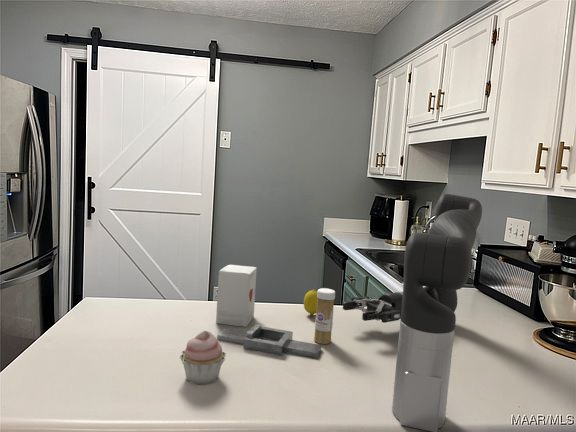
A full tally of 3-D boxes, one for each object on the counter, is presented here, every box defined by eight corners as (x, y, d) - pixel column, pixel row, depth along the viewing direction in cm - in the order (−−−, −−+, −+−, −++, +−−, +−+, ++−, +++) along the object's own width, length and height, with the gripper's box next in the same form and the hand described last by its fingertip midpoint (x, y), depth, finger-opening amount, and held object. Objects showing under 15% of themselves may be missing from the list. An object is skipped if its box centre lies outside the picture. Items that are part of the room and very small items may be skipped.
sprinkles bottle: (311, 342, 105) (315, 290, 104) (316, 336, 110) (320, 286, 108) (329, 346, 104) (333, 293, 102) (333, 339, 108) (337, 289, 107)
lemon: (299, 315, 125) (301, 289, 124) (307, 310, 130) (309, 286, 129) (316, 319, 122) (318, 293, 121) (323, 314, 127) (325, 289, 126)
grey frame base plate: (314, 362, 94) (315, 347, 94) (212, 342, 101) (213, 329, 101) (323, 346, 103) (324, 333, 103) (229, 329, 110) (229, 317, 110)
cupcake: (179, 391, 78) (181, 340, 77) (178, 368, 87) (179, 322, 86) (228, 387, 81) (231, 338, 80) (222, 365, 90) (224, 321, 89)
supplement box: (246, 327, 113) (249, 273, 111) (215, 323, 114) (217, 270, 112) (254, 316, 121) (257, 266, 120) (225, 313, 123) (227, 263, 121)
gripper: (382, 286, 124) (338, 290, 116) (418, 300, 112) (371, 305, 104) (380, 310, 125) (336, 316, 117) (415, 327, 112) (369, 334, 105)
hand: (353, 311), depth 110 cm, fingers open, 8 cm apart
